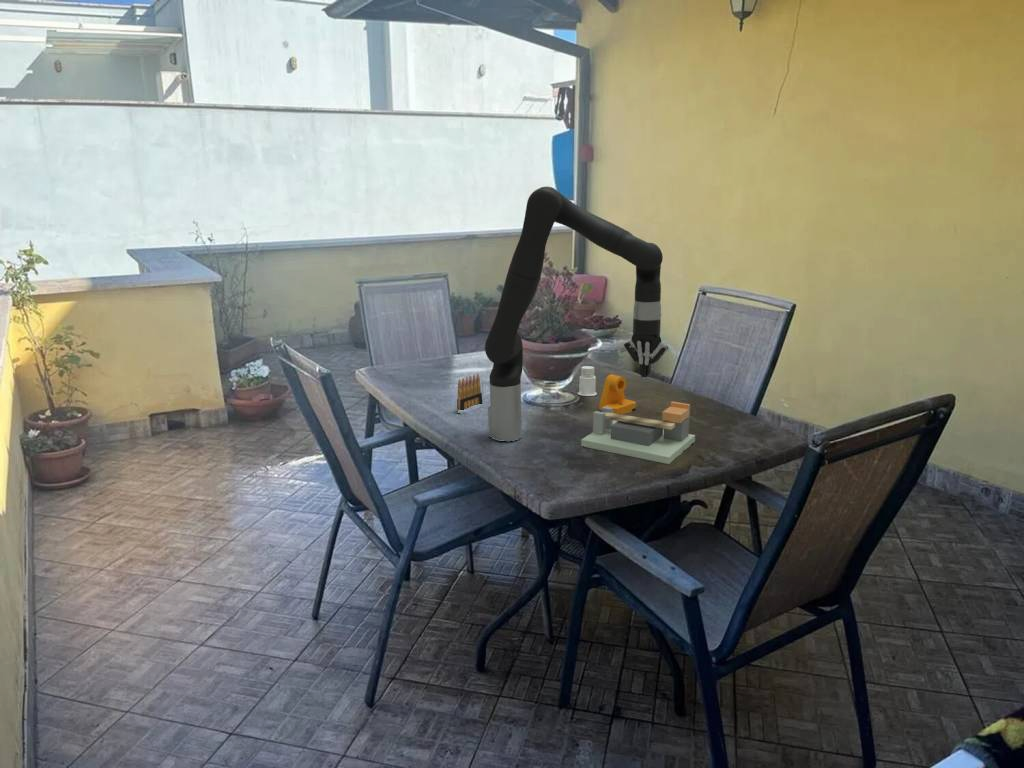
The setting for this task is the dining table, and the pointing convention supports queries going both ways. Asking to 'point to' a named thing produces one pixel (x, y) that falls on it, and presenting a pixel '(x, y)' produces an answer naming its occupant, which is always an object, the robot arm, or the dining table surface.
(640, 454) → the board
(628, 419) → the strap
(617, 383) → the bracket
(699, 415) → the dining table surface
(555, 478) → the dining table surface
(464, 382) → the ammunition clip
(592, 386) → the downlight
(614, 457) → the dining table surface
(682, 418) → the block
